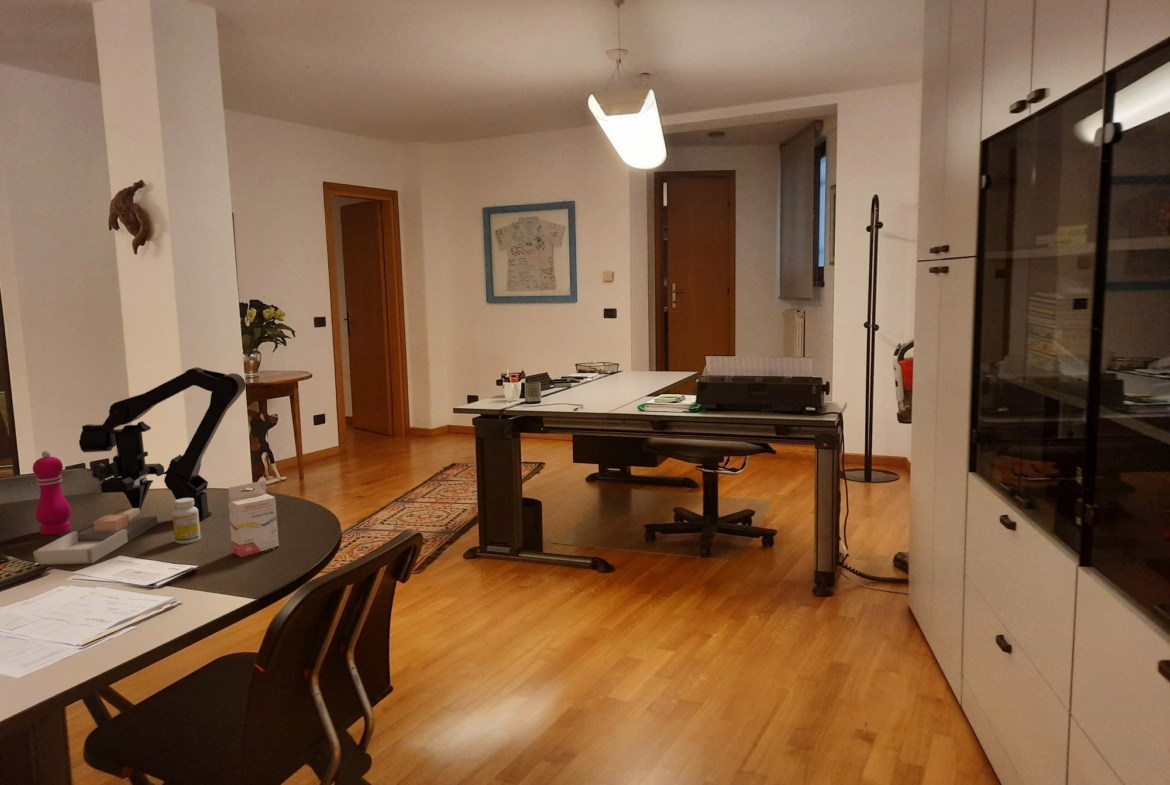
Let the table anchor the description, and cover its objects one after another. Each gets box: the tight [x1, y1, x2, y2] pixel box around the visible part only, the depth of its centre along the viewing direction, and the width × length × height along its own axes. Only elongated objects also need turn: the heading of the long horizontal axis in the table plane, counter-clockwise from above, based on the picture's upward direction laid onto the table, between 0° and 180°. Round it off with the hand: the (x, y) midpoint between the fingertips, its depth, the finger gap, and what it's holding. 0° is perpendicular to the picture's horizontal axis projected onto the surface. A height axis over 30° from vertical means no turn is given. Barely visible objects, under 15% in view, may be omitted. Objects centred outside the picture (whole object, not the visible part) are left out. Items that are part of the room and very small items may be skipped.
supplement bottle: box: [171, 498, 202, 545], centre depth 182 cm, size 5×5×10 cm
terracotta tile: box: [93, 514, 128, 532], centre depth 187 cm, size 5×5×2 cm
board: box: [77, 515, 159, 542], centre depth 190 cm, size 12×13×2 cm
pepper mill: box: [32, 450, 72, 536], centre depth 192 cm, size 7×7×20 cm
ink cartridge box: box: [228, 480, 280, 558], centre depth 173 cm, size 9×5×15 cm, turn 135°
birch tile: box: [107, 508, 141, 524], centre depth 192 cm, size 5×5×2 cm
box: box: [32, 529, 129, 566], centre depth 176 cm, size 12×14×3 cm
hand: (137, 511), depth 198 cm, fingers closed
